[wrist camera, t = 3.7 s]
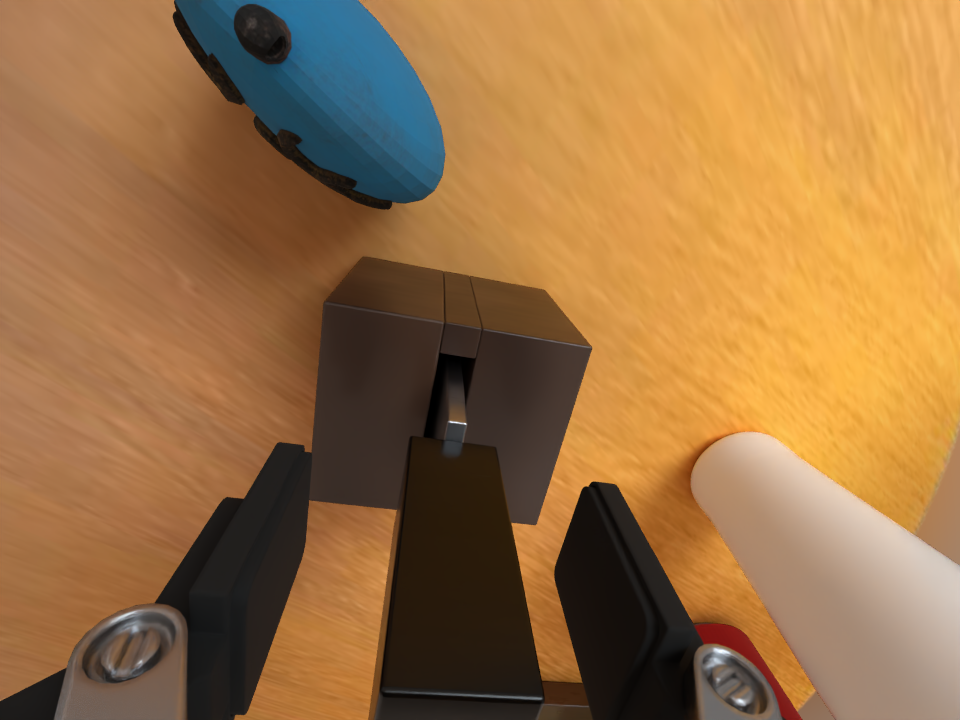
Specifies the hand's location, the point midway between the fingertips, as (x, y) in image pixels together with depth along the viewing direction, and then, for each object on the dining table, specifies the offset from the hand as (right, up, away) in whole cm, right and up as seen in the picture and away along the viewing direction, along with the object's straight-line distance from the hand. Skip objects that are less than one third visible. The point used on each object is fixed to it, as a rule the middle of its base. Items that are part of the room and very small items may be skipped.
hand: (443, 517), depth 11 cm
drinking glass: (+15, -2, +14) cm, 21 cm away
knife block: (-1, +4, +10) cm, 11 cm away
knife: (-1, +4, +10) cm, 11 cm away
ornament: (-4, +13, +6) cm, 15 cm away
